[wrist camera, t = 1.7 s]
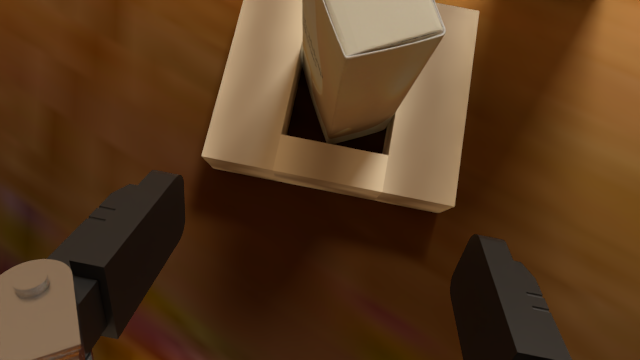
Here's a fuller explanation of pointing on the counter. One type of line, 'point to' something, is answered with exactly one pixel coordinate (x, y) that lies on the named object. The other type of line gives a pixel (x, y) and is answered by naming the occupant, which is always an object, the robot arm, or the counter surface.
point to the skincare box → (365, 59)
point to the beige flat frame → (332, 160)
